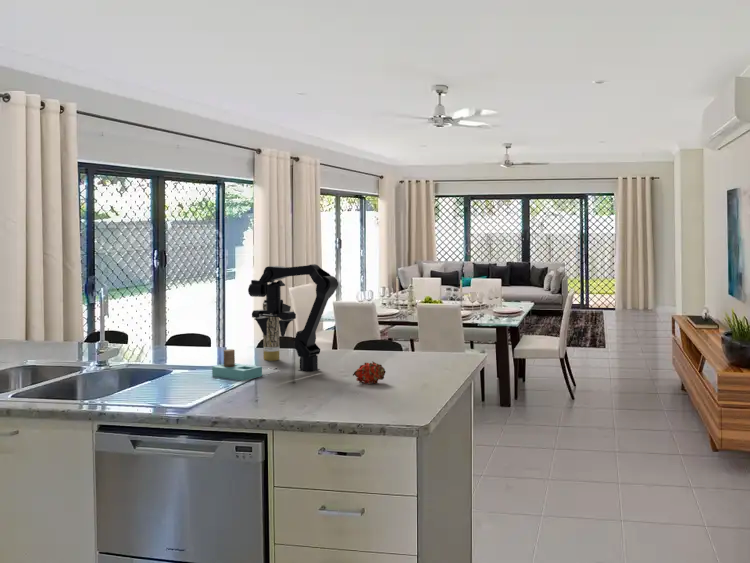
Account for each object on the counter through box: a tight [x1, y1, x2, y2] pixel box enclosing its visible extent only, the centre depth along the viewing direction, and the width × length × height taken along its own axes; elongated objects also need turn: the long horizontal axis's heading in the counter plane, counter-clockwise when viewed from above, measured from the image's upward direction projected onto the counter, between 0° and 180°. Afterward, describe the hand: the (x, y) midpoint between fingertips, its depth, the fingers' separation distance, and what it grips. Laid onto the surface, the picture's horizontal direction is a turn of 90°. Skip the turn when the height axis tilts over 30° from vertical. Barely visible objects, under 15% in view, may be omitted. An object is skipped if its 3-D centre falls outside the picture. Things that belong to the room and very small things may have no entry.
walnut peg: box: [223, 348, 236, 367], centre depth 285 cm, size 4×4×10 cm
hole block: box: [211, 363, 263, 381], centre depth 283 cm, size 16×10×4 cm, turn 57°
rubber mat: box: [262, 367, 282, 376], centre depth 292 cm, size 10×10×1 cm
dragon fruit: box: [352, 361, 387, 385], centre depth 270 cm, size 8×8×12 cm
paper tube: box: [262, 301, 280, 362], centre depth 321 cm, size 7×7×25 cm
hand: (273, 336), depth 301 cm, fingers open, 9 cm apart
